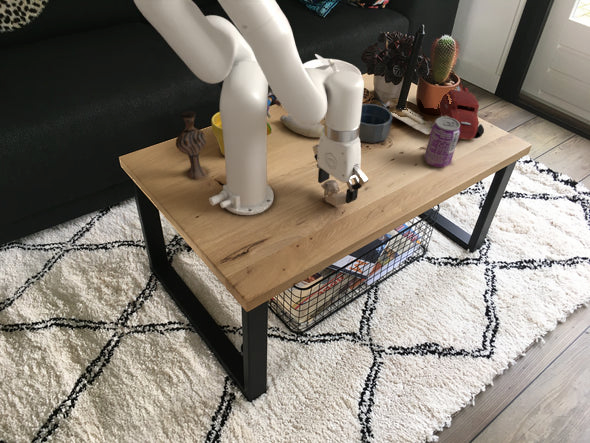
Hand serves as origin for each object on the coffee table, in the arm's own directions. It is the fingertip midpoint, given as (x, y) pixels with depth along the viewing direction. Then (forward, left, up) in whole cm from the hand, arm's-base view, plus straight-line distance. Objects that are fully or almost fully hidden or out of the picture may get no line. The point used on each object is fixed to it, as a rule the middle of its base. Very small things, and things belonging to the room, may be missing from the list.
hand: (337, 190), depth 120 cm
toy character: (-1, +1, -4) cm, 4 cm away
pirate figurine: (-3, +34, +2) cm, 34 cm away
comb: (+38, +11, -1) cm, 39 cm away
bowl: (+32, +39, -3) cm, 50 cm away
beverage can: (+33, -4, -4) cm, 34 cm away
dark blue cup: (+28, +17, -3) cm, 33 cm away
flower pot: (-8, +32, -3) cm, 33 cm away
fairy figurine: (+29, +35, +6) cm, 46 cm away
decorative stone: (+14, +29, -4) cm, 32 cm away
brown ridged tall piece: (-22, +30, -4) cm, 37 cm away
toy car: (+53, +6, -3) cm, 53 cm away
